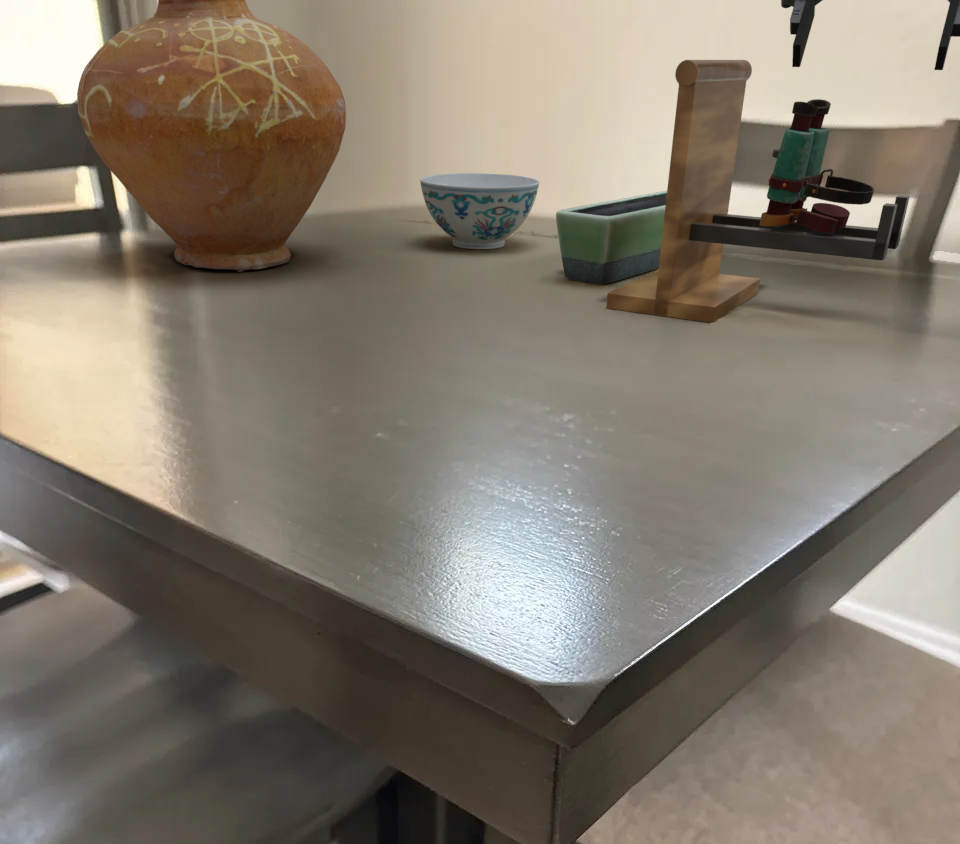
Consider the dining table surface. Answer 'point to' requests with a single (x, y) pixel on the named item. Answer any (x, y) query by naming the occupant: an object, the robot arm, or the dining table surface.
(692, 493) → the dining table surface
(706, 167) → the hook rack
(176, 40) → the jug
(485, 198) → the chinaware
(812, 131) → the binoculars
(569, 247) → the planter
